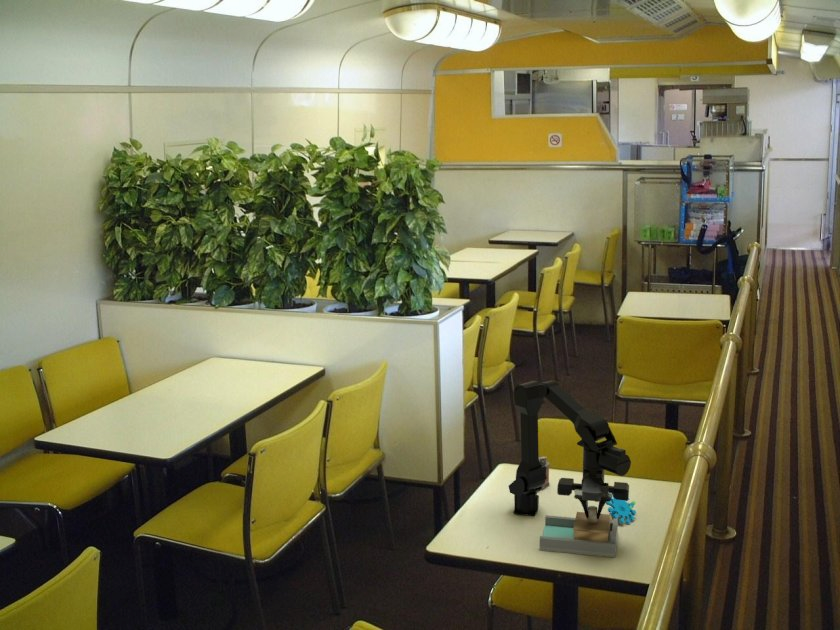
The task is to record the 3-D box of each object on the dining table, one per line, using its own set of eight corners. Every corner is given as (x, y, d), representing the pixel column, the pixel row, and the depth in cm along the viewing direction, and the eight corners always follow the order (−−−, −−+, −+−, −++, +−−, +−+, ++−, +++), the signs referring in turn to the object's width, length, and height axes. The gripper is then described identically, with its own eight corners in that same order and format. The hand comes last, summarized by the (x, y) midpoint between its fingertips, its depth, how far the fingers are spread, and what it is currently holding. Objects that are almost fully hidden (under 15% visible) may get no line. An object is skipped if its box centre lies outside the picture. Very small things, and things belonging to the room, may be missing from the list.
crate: (573, 545, 246) (573, 514, 244) (576, 528, 256) (577, 498, 254) (608, 548, 244) (609, 517, 242) (610, 531, 253) (611, 501, 251)
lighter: (543, 482, 290) (543, 452, 287) (551, 485, 287) (552, 455, 285) (527, 490, 284) (527, 460, 282) (535, 493, 282) (536, 463, 279)
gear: (618, 524, 256) (603, 492, 261) (606, 533, 260) (591, 501, 265) (645, 519, 263) (629, 487, 267) (632, 527, 267) (617, 496, 271)
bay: (539, 549, 247) (539, 532, 246) (545, 526, 260) (545, 510, 259) (615, 557, 242) (615, 539, 241) (617, 533, 255) (618, 516, 254)
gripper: (555, 473, 239) (554, 528, 243) (628, 479, 235) (626, 534, 238) (559, 457, 250) (559, 510, 254) (629, 462, 245) (628, 516, 249)
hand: (592, 518), depth 248 cm, fingers closed on crate, 2 cm apart
